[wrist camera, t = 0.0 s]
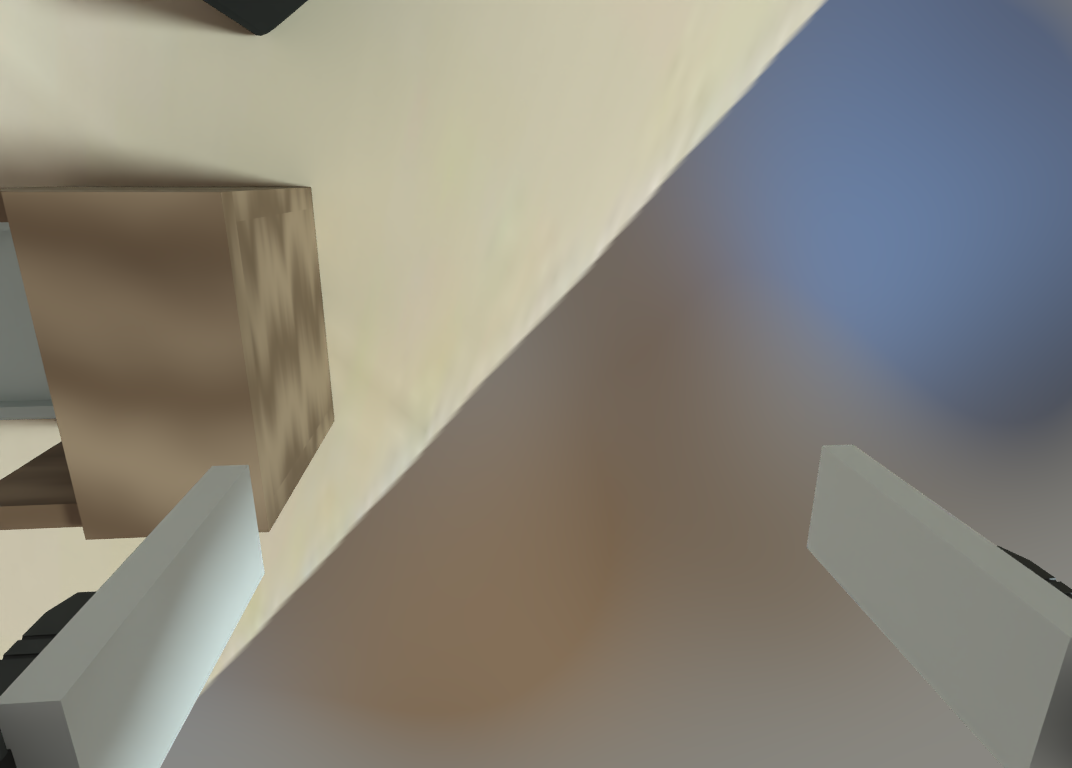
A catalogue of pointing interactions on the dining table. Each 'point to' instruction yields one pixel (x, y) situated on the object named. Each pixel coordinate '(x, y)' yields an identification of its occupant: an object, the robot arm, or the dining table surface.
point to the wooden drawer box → (168, 348)
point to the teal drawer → (19, 345)
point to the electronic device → (257, 12)
